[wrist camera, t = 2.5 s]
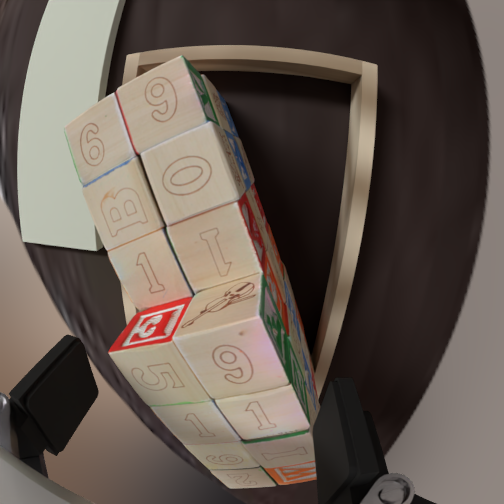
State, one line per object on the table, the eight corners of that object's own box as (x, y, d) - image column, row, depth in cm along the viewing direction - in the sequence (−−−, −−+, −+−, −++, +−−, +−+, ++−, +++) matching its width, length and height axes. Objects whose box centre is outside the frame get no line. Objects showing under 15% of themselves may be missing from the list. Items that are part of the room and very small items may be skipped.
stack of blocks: (145, 133, 18) (12, 122, 6) (225, 98, 17) (157, 15, 5) (245, 371, 24) (228, 492, 12) (312, 355, 23) (331, 480, 11)
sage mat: (55, -1, 13) (50, -4, 12) (136, -32, 12) (132, -36, 11) (29, 238, 21) (22, 241, 20) (103, 247, 21) (96, 251, 20)
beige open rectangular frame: (142, 64, 16) (127, 54, 13) (365, 74, 15) (377, 64, 13) (151, 383, 25) (143, 400, 23) (307, 403, 25) (309, 421, 22)
